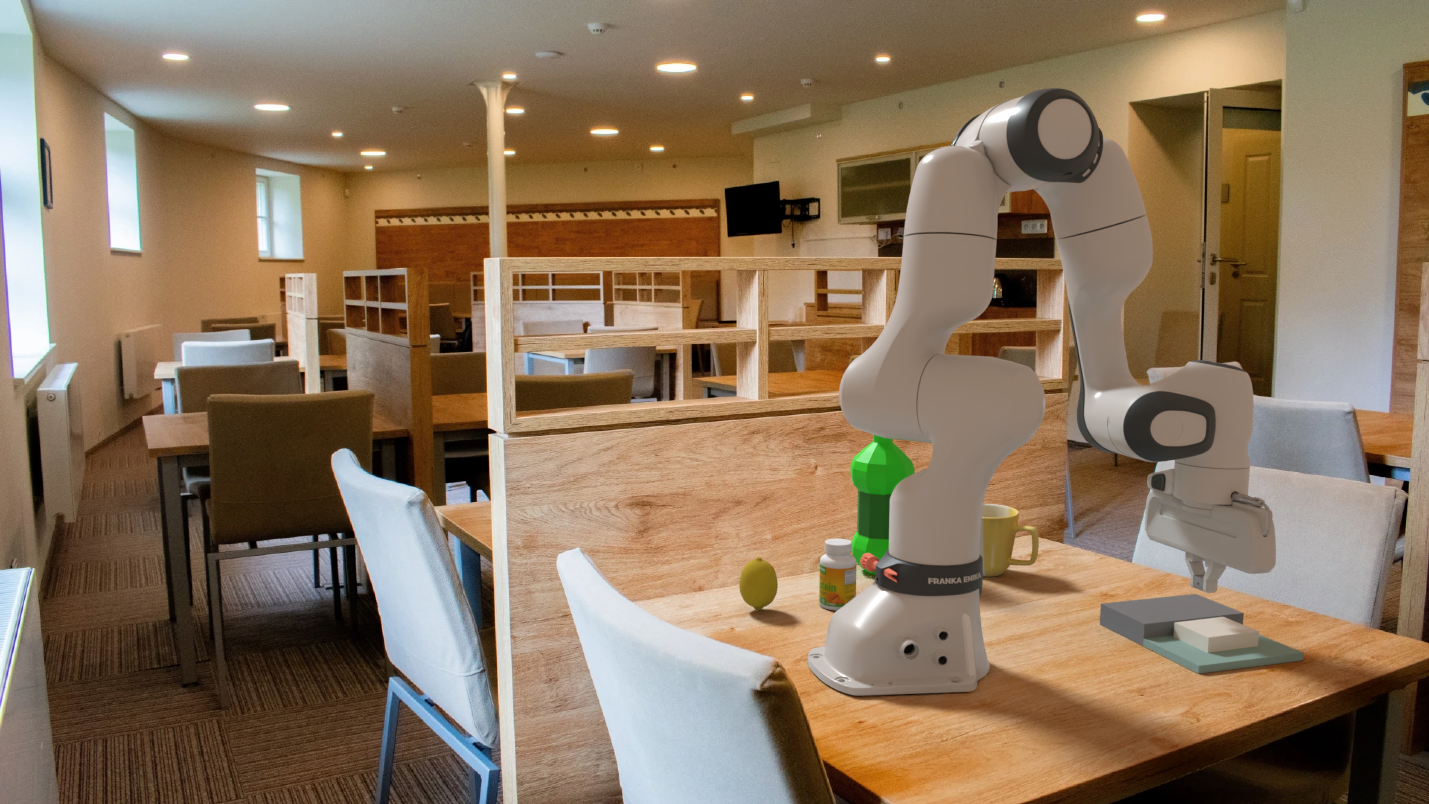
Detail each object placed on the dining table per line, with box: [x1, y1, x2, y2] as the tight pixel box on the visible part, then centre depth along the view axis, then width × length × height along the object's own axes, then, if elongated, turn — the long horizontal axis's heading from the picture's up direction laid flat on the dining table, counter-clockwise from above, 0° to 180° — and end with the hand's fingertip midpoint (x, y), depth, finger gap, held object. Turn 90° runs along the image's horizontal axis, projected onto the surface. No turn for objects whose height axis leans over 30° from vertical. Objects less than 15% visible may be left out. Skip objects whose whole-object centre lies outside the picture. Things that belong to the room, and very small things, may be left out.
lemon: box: [738, 556, 778, 612], centre depth 151 cm, size 6×6×8 cm
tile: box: [1174, 617, 1260, 653], centre depth 135 cm, size 8×6×2 cm
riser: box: [1099, 593, 1245, 647], centre depth 143 cm, size 16×9×3 cm, turn 106°
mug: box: [980, 503, 1040, 577], centre depth 169 cm, size 14×10×10 cm
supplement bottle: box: [818, 537, 857, 612], centre depth 153 cm, size 5×5×10 cm
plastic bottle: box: [849, 434, 916, 576], centre depth 170 cm, size 10×10×25 cm
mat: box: [1142, 633, 1304, 675], centre depth 134 cm, size 16×10×1 cm, turn 106°
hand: (1203, 590), depth 136 cm, fingers closed
